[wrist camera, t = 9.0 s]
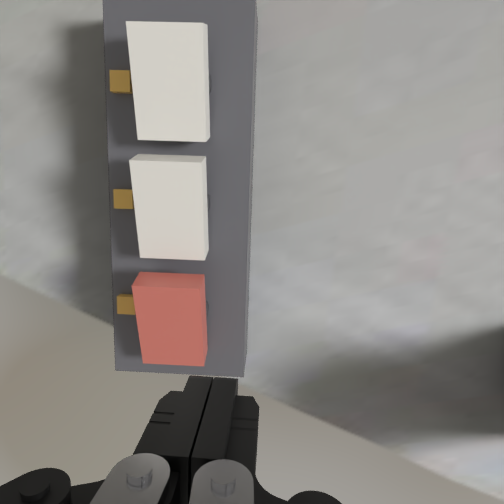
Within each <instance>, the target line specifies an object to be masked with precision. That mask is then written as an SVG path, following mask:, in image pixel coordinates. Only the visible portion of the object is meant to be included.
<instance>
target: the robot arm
mask: <svg viewBox="0 0 504 504" xmlns="http://www.w3.org/2000/svg"><path fill="white" fill-rule="evenodd" d="M237 394H238V379H233V378H219V377H215V378H214V379H213V377H203V376H189V378H188V381H187V383H186V386H185V388H184V391H183V392H181V391H170V392H169V393H168V394H166V395H165V396H164V397H163V398H161V399H160V400H159V402H158V404H157V406H156V408H155V410H154V414H152V416H151V419H150V421H149V423H148V425H147V427H146V429H145V431H144V433H143V435H142V437H141V439H140V441H139V443H138V445H137V447H136V449H135V451H134V453H133V455H131V456H129V457H126V458H124V459H123V460H121V461H120V462H118V463H117V464H116V465H115V466H114V467H113V468H112V470H111V471H110V473H109V474H108V476H107V477H106V479H104V480H101V481H98V482H93V483H87V484H82V485H77V486H71V483H70V478H69V476H68V475H67V473H65V472H64V471H62V470H60V469H55V468H43V469H38V470H34V471H31V472H28V473H26V474H24V475H22V476H20V477H18V478H16V479H14V480H12V481H10V482H8V483H6V484H4V485H2V486H0V504H341V503H340V502H339V501H338V500H337V499H335V498H334V497H332V496H330V495H328V494H326V493H322V492H319V491H304V492H300V493H298V494H296V495H294V496H293V497H291V499H289V500H288V501H285V500H283V499H280V498H278V497H276V496H273V495H272V494H270V493H268V492H267V491H266V490H264V489H263V487H262V486H261V485H260V484H259V482H258V480H257V478H256V475H255V470H256V455H257V437H258V419H259V406H258V404H257V403H256V401H255V399H254V397H251V396H238V395H237Z"/></svg>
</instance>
